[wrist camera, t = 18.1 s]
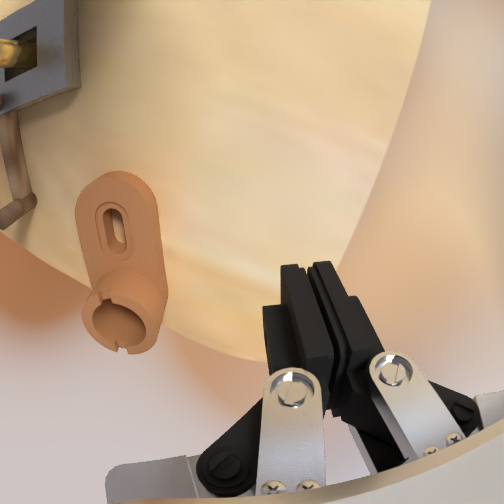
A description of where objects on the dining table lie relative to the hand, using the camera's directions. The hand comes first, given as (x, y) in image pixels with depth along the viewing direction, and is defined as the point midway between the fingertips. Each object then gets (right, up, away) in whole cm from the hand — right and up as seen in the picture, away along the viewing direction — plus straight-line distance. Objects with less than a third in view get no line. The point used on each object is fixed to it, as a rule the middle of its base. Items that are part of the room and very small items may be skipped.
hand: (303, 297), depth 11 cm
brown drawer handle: (-27, +13, +14) cm, 33 cm away
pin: (-24, +22, +10) cm, 34 cm away
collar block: (-24, +22, +10) cm, 34 cm away
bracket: (-15, +2, +22) cm, 27 cm away
